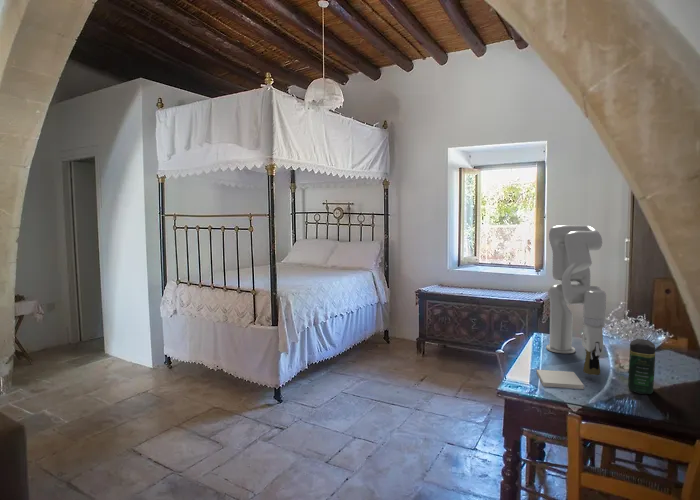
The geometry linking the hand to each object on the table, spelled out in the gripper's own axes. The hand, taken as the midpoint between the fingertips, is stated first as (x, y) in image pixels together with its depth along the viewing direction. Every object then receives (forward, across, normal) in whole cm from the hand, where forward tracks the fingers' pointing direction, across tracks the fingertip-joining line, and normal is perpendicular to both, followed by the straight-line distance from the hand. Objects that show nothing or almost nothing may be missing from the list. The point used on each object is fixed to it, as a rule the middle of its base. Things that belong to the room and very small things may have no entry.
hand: (591, 366), depth 174 cm
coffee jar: (+5, +9, +14) cm, 17 cm away
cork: (+3, 0, 0) cm, 3 cm away
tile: (+5, +5, -13) cm, 15 cm away
